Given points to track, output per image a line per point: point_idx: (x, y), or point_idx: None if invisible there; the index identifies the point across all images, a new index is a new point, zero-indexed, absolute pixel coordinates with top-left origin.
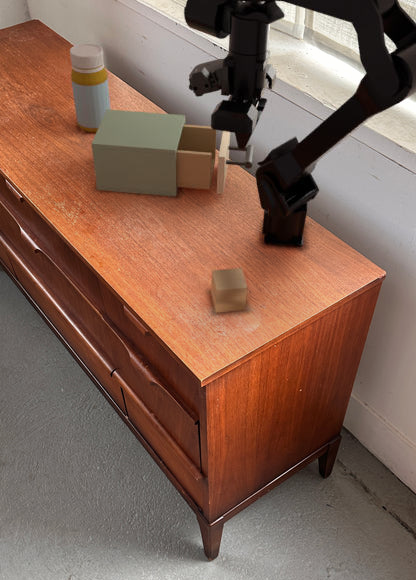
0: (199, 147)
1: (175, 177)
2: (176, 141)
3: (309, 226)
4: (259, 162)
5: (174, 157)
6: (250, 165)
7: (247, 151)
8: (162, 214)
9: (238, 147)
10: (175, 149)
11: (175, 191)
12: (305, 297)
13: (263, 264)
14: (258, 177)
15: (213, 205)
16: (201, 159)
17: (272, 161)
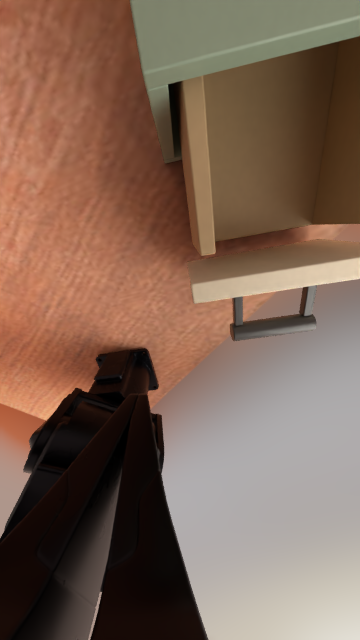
0: (342, 167)
1: (159, 140)
2: (234, 36)
3: (160, 391)
4: (34, 474)
5: (147, 93)
6: (231, 336)
7: (284, 324)
8: (85, 152)
9: (128, 396)
10: (151, 69)
11: (163, 157)
12: (35, 403)
13: (58, 360)
14: (38, 439)
15: (162, 260)
16: (195, 221)
17: (5, 527)
